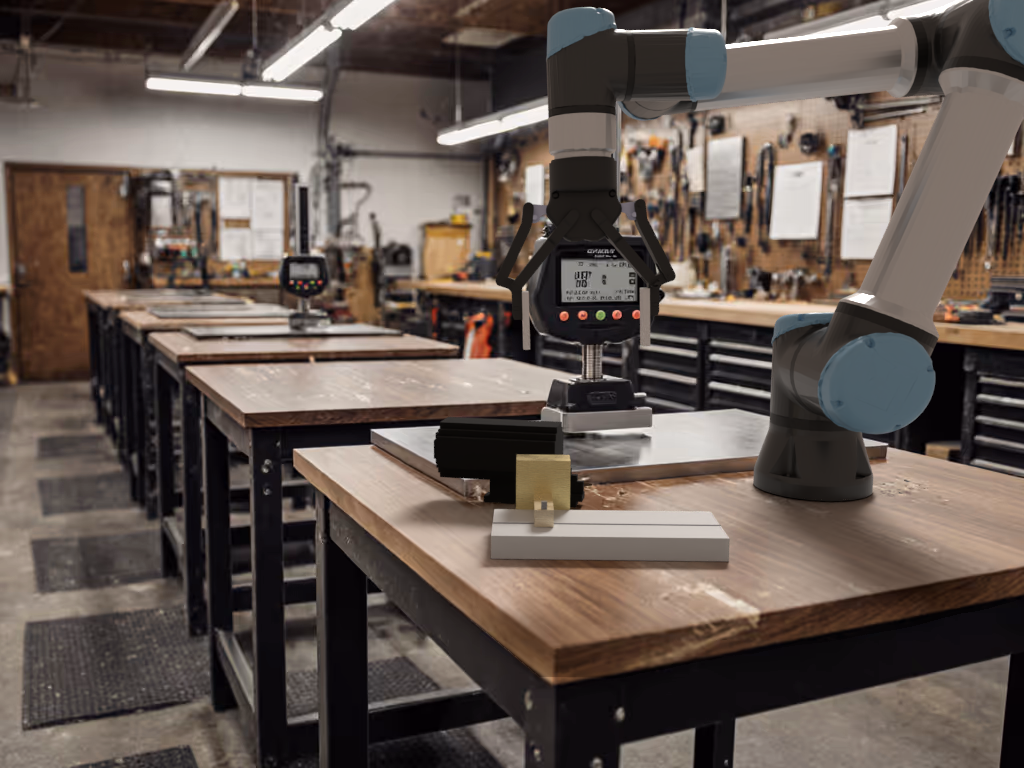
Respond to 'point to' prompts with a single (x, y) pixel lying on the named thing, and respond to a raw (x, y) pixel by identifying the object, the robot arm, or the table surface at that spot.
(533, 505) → the pale yellow block
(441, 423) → the security camera
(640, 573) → the table surface
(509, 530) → the board
